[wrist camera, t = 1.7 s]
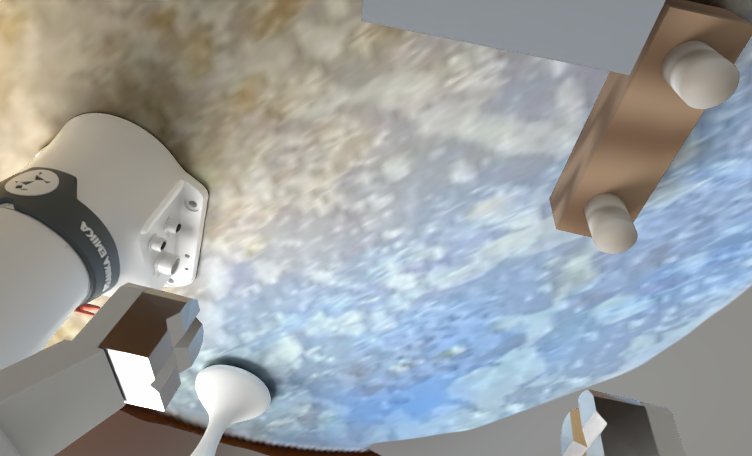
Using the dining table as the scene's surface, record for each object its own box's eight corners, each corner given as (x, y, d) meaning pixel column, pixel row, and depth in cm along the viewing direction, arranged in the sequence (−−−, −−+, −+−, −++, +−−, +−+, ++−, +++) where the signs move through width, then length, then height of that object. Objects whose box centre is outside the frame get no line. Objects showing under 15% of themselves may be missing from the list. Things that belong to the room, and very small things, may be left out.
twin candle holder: (606, 211, 45) (631, 275, 38) (549, 197, 45) (563, 259, 38) (724, 8, 34) (790, 44, 27) (647, -9, 34) (692, 23, 27)
